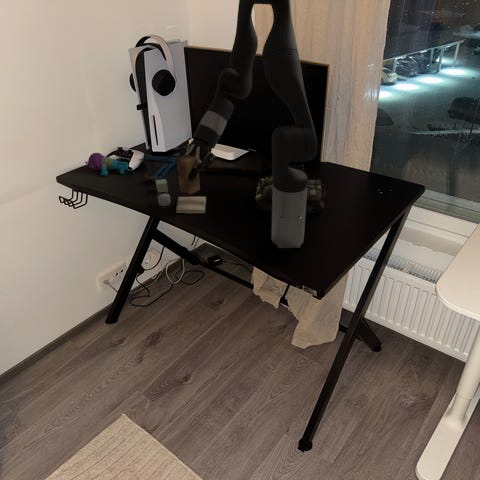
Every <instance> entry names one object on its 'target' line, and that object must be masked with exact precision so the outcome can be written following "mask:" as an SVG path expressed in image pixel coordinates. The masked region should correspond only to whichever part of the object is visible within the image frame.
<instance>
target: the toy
mask: <svg viewBox="0 0 480 480" xmlns="http://www.w3.org/2000/svg"><path fill="white" fill-rule="evenodd" d="M84 162H85V164H87V166H89V167H90V168H91V169H92V170H94V171H100V170H101V173H100V175H101V176H108V174H109V171H108V170H114V169H116V170H119V174H121V175H123V174H124V173H125V171H127V170H128V169H129V163H128V162H127V161H120V160H118V159H114V158H112V157H110V156H105V155H103V154H101V153H100V152H94V153H91V154H90V156H89V158H88V160H87V161H84ZM127 168H128V169H127Z"/></svg>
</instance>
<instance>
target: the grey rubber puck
mask: <svg viewBox="0 0 480 480" xmlns="http://www.w3.org/2000/svg"><path fill="white" fill-rule="evenodd" d="M157 203H158V204H159V205H161V206H167V205H169V204H170V203H171V195H170V194H169V193H159V194H157ZM171 204H172V203H171ZM159 205H158V206H159Z"/></svg>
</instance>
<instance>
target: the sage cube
mask: <svg viewBox="0 0 480 480" xmlns="http://www.w3.org/2000/svg"><path fill="white" fill-rule="evenodd" d="M155 181H156V182H155V186H156V187H155V188H156V192H157V191H158V192H157V194H158V193H159V192H165V193H169V189H168V181H167V179H166V178H164V179H163V178H162V179H161V180H155ZM159 194H160V193H159Z"/></svg>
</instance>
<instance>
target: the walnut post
mask: <svg viewBox="0 0 480 480" xmlns="http://www.w3.org/2000/svg"><path fill="white" fill-rule="evenodd" d="M195 162H196V158H195V156H192V155H184V156H182V157H179V158H177V170H178V173H179V175H178V182H179V191H180V192H182V193H185V194H187V195H189V196H190V195H192V194H195V193H196V192H198V191H200V190H201V185H200V183H201V181H200V172H198V174H197V176H196V178H195V179H194V180H193V181H190V180H188V179H187V177H188V176H189V174H190V172H191V170H192V168H194V164H195Z"/></svg>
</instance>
